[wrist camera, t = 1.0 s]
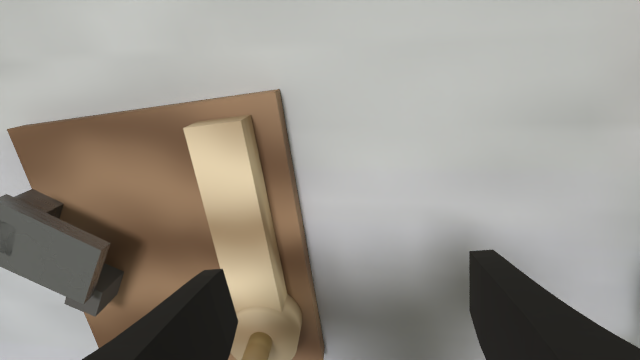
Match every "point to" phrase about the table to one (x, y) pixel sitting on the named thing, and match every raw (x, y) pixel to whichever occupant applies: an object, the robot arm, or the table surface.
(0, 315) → the table surface
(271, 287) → the link
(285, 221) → the board
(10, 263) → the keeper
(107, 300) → the block
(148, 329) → the robot arm
